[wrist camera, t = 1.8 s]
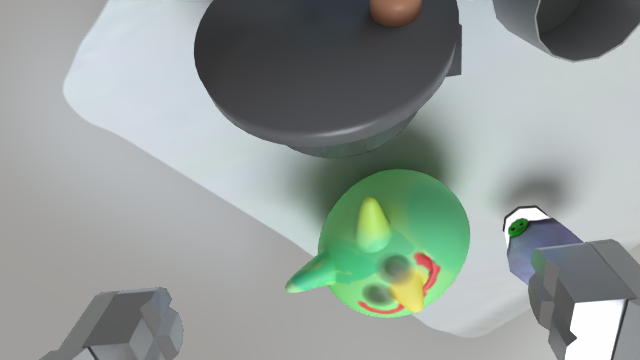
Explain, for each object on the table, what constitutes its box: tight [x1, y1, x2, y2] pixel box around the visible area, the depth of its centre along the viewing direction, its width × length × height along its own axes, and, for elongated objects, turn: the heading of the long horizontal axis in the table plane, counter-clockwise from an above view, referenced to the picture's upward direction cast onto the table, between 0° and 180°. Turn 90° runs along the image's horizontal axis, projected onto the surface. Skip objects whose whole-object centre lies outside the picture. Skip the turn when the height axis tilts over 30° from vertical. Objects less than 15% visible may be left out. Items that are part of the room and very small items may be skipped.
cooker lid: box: [194, 0, 459, 147], centre depth 26 cm, size 18×16×4 cm
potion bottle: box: [503, 206, 584, 285], centre depth 49 cm, size 9×9×12 cm
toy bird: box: [285, 169, 470, 318], centre depth 47 cm, size 18×17×15 cm
